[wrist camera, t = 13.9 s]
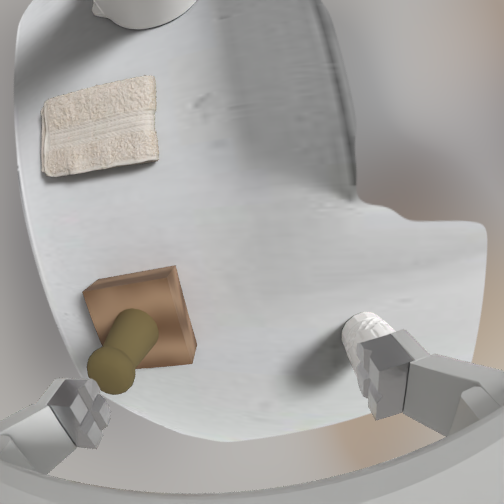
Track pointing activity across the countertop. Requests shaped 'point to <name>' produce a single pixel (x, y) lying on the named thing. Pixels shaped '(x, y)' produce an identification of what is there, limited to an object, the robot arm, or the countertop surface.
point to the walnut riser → (154, 304)
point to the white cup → (362, 333)
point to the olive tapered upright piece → (123, 351)
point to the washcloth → (100, 128)
